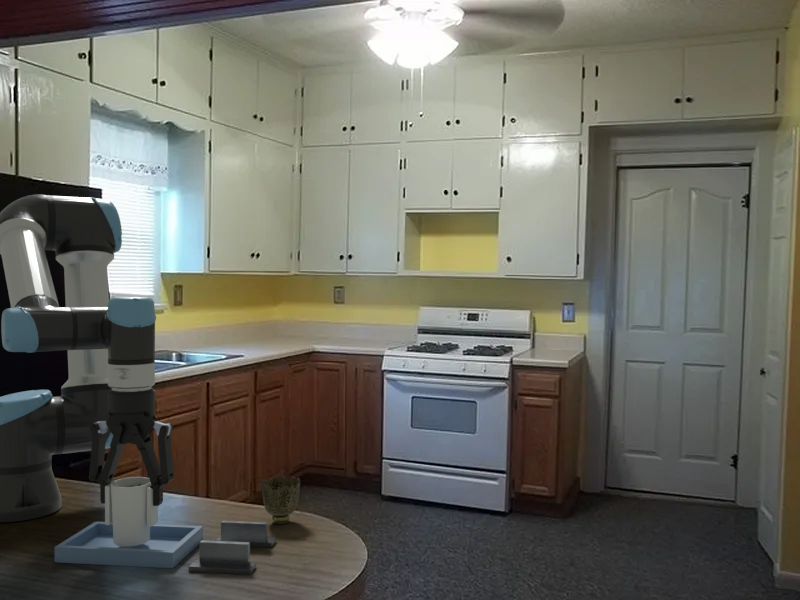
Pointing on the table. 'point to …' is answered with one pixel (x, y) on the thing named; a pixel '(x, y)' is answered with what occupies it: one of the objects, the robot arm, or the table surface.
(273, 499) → the cup
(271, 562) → the table surface
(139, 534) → the white tumbler
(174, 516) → the table surface
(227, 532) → the bracket
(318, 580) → the table surface
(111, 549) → the tray
